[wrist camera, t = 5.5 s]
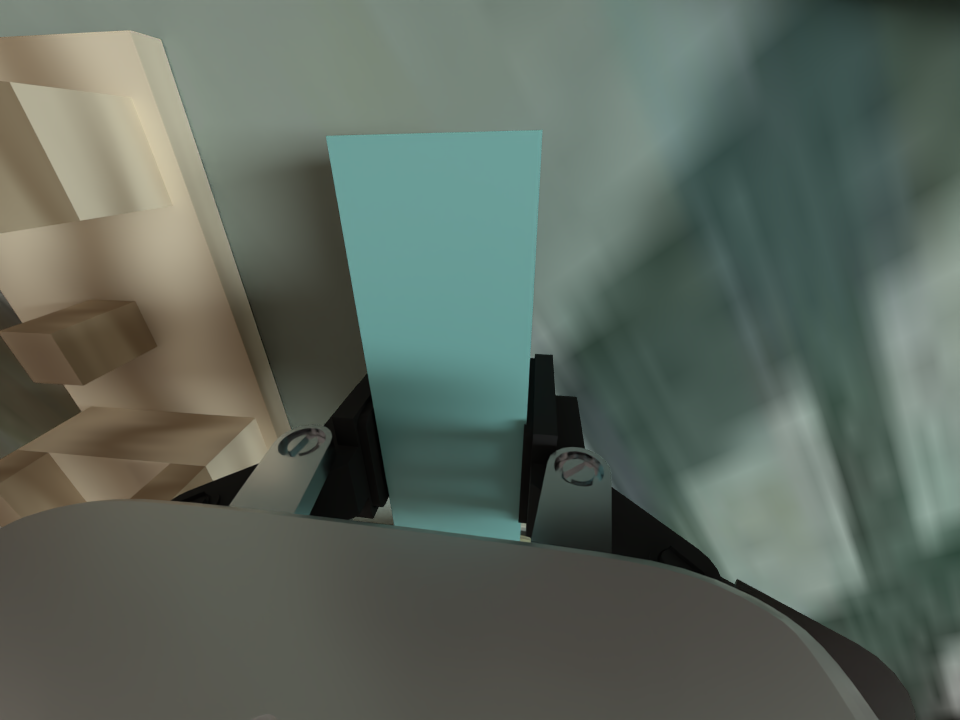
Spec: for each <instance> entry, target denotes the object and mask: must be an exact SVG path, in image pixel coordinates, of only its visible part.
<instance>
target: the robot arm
mask: <svg viewBox="0 0 960 720" xmlns="http://www.w3.org/2000/svg"><path fill="white" fill-rule="evenodd" d="M388 497H389V492H388V487H387V481H386V475H385V470H384V464H383V458H382V452H381V447H380V441H379V435H378V430H377V424H376V418H375V413H374V407H373V401H372V396H371V390H370V384H369V379H368V373H367V374H366V376H365V377H364V378H363V379H362V380H361V382H360V383H359V384H358V385H357V386H356V387H355V388H354V390H353V391H352V392H351V393H350V394H349V396H348V397H347V398H346V399H345V400H344V402H343V403H342V404H341V405H340V407H339V408H338V409H337V410H336V411H335V413H334V414H333V415H332V416H331V418H330V419H329V420H328V421H327V422H326V424H325V425H324V426H322V425H304V426H300V427H297V428H294V429H292V430H289V431H287V432H286V433H284V434H283V435H281V436H280V437H279V438H278V439H277V440H276V441H275V442H274V443H273V444H272V446H271V447H270V449H269V450H268V451H267V453H266V454H265V456H264V457H263V458H262V460H261V461H260V463H258V464H256V465H253V466H250V467H248V468H245V469H243V470H240V471H238V472H235V473H232V474H230V475H227V476H225V477H222V478H219V479H217V480H214V481H212V482H209V483H207V484H204V485H201V486H199V487H196V488H194V489H191V490H189V491H187V492H184V493H182V494H180V495H178V496H177V497H175V498H174V499H172V500H171V501H165V500H152V499H112V500H101V501H90V502H83V503H78V504H72V505H67V506H62V507H57V508H53V509H49V510H45V511H42V512H39V513H35V514H32V515H29V516H26V517H23V518H21V519H18V520H16V521H14V522H12V523H9V524H7V525H6V526H4V527H2V528H0V720H916V716H915V709H914V707H913V704H912V701H911V699H910V696H909V693H908V691H907V690H906V688H905V687H904V686H903V684H902V683H901V682H900V680H899V679H898V677H897V676H896V675H895V673H894V672H893V671H891V670H890V669H889V668H888V667H887V666H886V665H885V664H884V663H883V662H882V661H881V660H880V659H879V658H878V657H877V656H875V655H873V654H872V653H870V652H869V651H867V650H866V649H864V648H863V647H861V646H860V645H858V644H857V643H855V642H853V641H851V640H849V639H847V638H846V637H844V636H842V635H840V634H838V633H836V632H834V631H833V630H831V629H829V628H827V627H825V626H823V625H821V624H820V623H818V622H816V621H814V620H812V619H810V618H808V617H807V616H805V615H803V614H801V613H799V612H797V611H795V610H794V609H792V608H790V607H788V606H786V605H784V604H782V603H781V602H779V601H777V600H775V599H773V598H771V597H770V596H768V595H766V594H764V593H762V592H760V591H758V590H757V589H755V588H753V587H751V586H749V585H747V584H745V583H744V582H742V581H740V580H738V579H737V580H736V582H735V584H733V583H731V582H729V581H728V580H726V579H724V578H722V577H720V574H719V572H718V570H717V568H716V567H715V566H714V564H713V563H712V562H711V560H710V559H709V558H708V557H707V556H706V555H704V554H703V553H702V552H701V551H700V550H699V549H697V548H696V547H695V546H693V545H692V544H690V543H689V542H688V541H686V540H685V539H683V538H682V537H681V536H679V535H678V534H676V533H675V532H674V531H672V530H671V529H670V528H668V527H667V526H665V525H664V524H663V523H661V522H660V521H658V520H657V519H656V518H654V517H653V516H651V515H650V514H649V513H647V512H646V511H644V510H643V509H642V508H640V507H639V506H637V505H636V504H635V503H633V502H632V501H630V500H629V499H628V498H626V497H625V496H623V495H622V494H621V493H619V492H618V491H617V490H615V489H614V488H612V482H611V470H610V467H609V465H608V464H607V462H606V461H605V460H604V459H603V458H602V457H601V456H599V455H598V454H596V453H594V452H592V451H590V450H587V449H585V446H584V440H583V434H582V427H581V421H580V414H579V408H578V402H577V397H571V396H556V395H555V384H554V368H553V355H543V354H535V358H530V367H529V386H528V404H527V422H526V424H524V434H523V451H522V468H521V485H520V502H519V519H518V523H526V537H530V538H531V543H530V542H522V541H515V540H507V539H499V538H491V537H483V536H475V535H467V534H459V533H451V532H443V531H435V530H427V529H419V528H410V527H402V526H394V525H386V524H377V523H369V522H361V521H353V520H352V518H354V517H364V518H372V519H373V518H374V516H375V514H376V512H377V509H378V507H383V506H384V505H385V504H386V502H387V499H388Z"/></svg>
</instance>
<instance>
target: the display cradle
mask: <svg viewBox="0 0 960 720" xmlns="http://www.w3.org/2000/svg"><path fill="white" fill-rule="evenodd" d="M0 290H1V292H2V293H3V295H4V296H5V298H6V299H7V301H8V302H9V304H10V305H11V307H12V308H13V310H14V311H15V313H16V314H17V316H18V317H19V319H20V320H21V322H22V323H21V324H18V325H15V326H12V327H9V328H6V329H3V330H0V336H1V337H2V338H3V340H4V341H5V343H6V344H7V345H8V347H9V348H10V350H11V351H12V352H13V354H14V355H15V357H16V358H17V359H18V361H19V362H20V364H21V365H22V366H23V368H24V369H25V371H26V372H27V374H28V375H29V376H30V378H31V379H32V381H33V382H34V383H48V384H63V385H64V386H65V388H66V389H67V391H68V392H69V394H70V395H71V397H72V398H73V400H74V401H75V403H76V404H77V406H78V407H79V409H80V410H81V412H80V413H79V414H77V415H75V416H74V417H72V418H70V419H68V420H67V421H65V422H63V423H62V424H60V425H58V426H56V427H55V428H53V429H51V430H50V431H48V432H46V433H45V434H43V435H41V436H39V437H38V438H36V439H34V440H33V441H31V442H29V443H27V444H26V445H24V446H22V447H21V448H19V449H17V450H16V451H14V452H12V453H10V454H9V455H7V456H5V457H4V458H2V459H0V526H1V527H4V526H6V525H7V524H9V523H12V522H14V521H16V520H18V519H21V518H23V517H26V516H29V515H32V514H35V513H39V512H42V511H45V510H49V509H53V508H57V507H62V506H67V505H72V504H78V503H83V502H90V501H101V500H112V499H152V500H165V501H171V500H172V499H174V498H175V497H177V496H178V495H180V494H182V493H184V492H187V491H189V490H191V489H194V488H196V487H199V486H201V485H204V484H207V483H209V482H212V481H214V480H217V479H219V478H222V477H225V476H227V475H230V474H232V473H235V472H238V471H240V470H243V469H245V468H248V467H250V466H253V465H256V464H258V463H260V461H261V460H262V458H263V457H264V456H265V454H266V453H267V451H268V450H269V449H270V447H271V446H272V444H273V443H274V442H275V441H276V440H277V439H278V438H279V437H280V436H281V435H283V434H284V433H286V432H287V431H289V430H291V428H290V425H289V422H288V419H287V416H286V413H285V410H284V407H283V404H282V401H281V398H280V395H279V392H278V389H277V386H276V383H275V380H274V377H273V374H272V371H271V368H270V365H269V362H268V359H267V356H266V353H265V350H264V347H263V344H262V341H261V338H260V335H259V332H258V329H257V326H256V323H255V320H254V317H253V314H252V311H251V308H250V305H249V302H248V299H247V296H246V293H245V290H244V287H243V284H242V281H241V278H240V275H239V272H238V269H237V266H236V263H235V260H234V257H233V254H232V251H231V248H230V245H229V242H228V239H227V236H226V233H225V230H224V227H223V224H222V221H221V218H220V215H219V212H218V209H217V206H216V203H215V200H214V197H213V194H212V191H211V188H210V185H209V182H208V179H207V176H206V173H205V170H204V167H203V164H202V161H201V158H200V155H199V152H198V149H197V146H196V143H195V140H194V137H193V134H192V131H191V128H190V125H189V122H188V119H187V116H186V113H185V110H184V107H183V104H182V101H181V98H180V95H179V92H178V89H177V86H176V83H175V80H174V77H173V74H172V71H171V68H170V65H169V62H168V59H167V56H166V53H165V50H164V47H163V44H162V41H161V39H158V38H154V37H151V36H147V35H144V34H140V33H137V32H134V31H130V30H128V31H109V32H90V33H71V34H53V35H34V36H15V37H0Z"/></svg>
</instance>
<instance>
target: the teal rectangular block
mask: <svg viewBox="0 0 960 720" xmlns="http://www.w3.org/2000/svg"><path fill="white" fill-rule="evenodd" d="M326 140H327V145H328V151H329V157H330V162H331V168H332V174H333V179H334V185H335V191H336V196H337V202H338V208H339V214H340V219H341V225H342V231H343V236H344V242H345V248H346V253H347V259H348V265H349V270H350V276H351V282H352V288H353V293H354V299H355V305H356V310H357V316H358V322H359V327H360V333H361V339H362V344H363V350H364V356H365V361H366V367H367V373H368V379H369V384H370V390H371V396H372V401H373V407H374V413H375V418H376V424H377V430H378V435H379V441H380V447H381V452H382V458H383V464H384V470H385V475H386V481H387V487H388V492H389V498H390V504H391V509H392V515H393V521H394V526H402V527H410V528H419V529H427V530H435V531H443V532H451V533H459V534H467V535H475V536H483V537H491V538H499V539H507V540H515V541H520V532H521V523H518V519H519V502H520V485H521V468H522V451H523V434H524V424H526V422H527V404H528V386H529V367H530V349H531V331H532V312H533V294H534V276H535V257H536V239H537V221H538V202H539V184H540V166H541V148H542V130H529V131H492V132H455V133H417V134H380V135H342V136H326Z"/></svg>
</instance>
